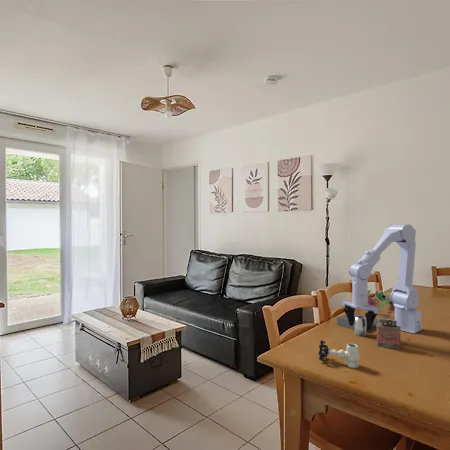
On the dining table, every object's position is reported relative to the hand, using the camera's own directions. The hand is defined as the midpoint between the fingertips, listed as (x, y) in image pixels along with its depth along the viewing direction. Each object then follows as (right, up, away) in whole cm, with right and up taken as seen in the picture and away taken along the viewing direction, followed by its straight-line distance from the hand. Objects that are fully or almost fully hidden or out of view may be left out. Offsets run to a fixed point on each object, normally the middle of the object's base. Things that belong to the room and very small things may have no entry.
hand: (360, 327), depth 131 cm
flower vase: (+26, -2, +38) cm, 46 cm away
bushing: (0, -3, 0) cm, 3 cm away
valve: (-17, -4, -26) cm, 31 cm away
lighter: (+5, -3, -12) cm, 14 cm away
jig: (+3, -3, +11) cm, 12 cm away
